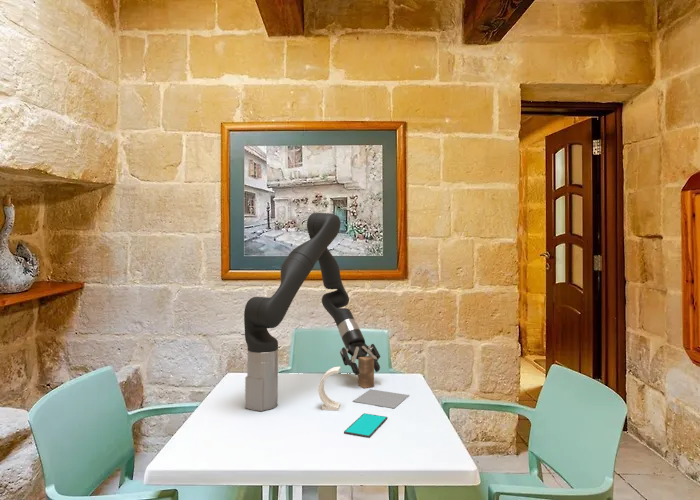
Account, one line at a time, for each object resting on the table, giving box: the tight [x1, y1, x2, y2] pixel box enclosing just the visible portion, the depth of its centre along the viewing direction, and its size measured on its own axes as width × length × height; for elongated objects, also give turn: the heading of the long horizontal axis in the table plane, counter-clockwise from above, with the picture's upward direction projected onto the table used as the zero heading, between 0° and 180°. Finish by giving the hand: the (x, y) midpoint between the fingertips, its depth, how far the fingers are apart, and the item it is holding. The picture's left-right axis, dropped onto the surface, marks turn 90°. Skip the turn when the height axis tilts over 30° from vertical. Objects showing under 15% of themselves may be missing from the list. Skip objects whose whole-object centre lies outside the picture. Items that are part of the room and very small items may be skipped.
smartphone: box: [343, 412, 388, 439], centre depth 126 cm, size 7×1×15 cm
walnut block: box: [357, 355, 375, 390], centre depth 162 cm, size 4×4×10 cm
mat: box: [352, 388, 410, 409], centre depth 149 cm, size 14×14×1 cm
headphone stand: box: [317, 366, 341, 411], centre depth 140 cm, size 5×6×12 cm
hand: (368, 372), depth 161 cm, fingers open, 8 cm apart
